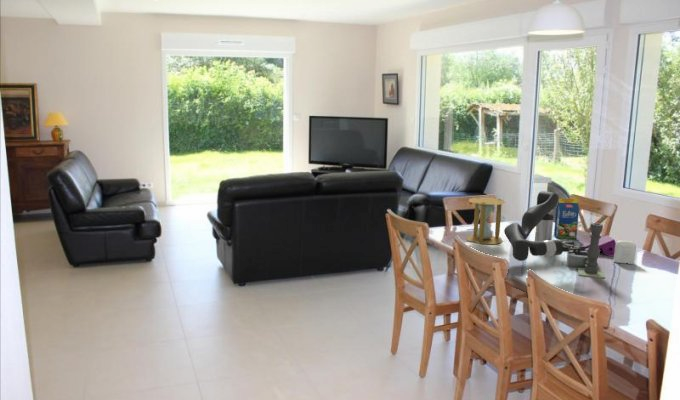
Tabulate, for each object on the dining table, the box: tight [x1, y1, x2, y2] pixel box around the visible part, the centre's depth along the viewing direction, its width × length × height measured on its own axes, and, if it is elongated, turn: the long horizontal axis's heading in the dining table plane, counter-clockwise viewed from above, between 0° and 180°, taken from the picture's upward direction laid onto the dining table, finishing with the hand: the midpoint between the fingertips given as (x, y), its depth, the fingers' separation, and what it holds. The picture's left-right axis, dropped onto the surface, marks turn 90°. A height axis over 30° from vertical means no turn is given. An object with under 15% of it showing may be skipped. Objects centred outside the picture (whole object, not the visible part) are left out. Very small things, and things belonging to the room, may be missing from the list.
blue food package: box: [553, 198, 580, 240], centre depth 367 cm, size 6×12×25 cm, turn 90°
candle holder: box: [584, 222, 604, 274], centre depth 294 cm, size 6×6×25 cm
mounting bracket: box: [582, 234, 616, 256], centre depth 335 cm, size 10×8×18 cm
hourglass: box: [466, 196, 506, 245], centre depth 358 cm, size 24×22×25 cm
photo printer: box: [613, 240, 637, 265], centre depth 316 cm, size 10×4×12 cm, turn 72°
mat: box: [577, 268, 606, 279], centre depth 297 cm, size 12×12×1 cm
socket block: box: [566, 251, 588, 269], centre depth 311 cm, size 14×14×6 cm
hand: (579, 246), depth 291 cm, fingers open, 8 cm apart
